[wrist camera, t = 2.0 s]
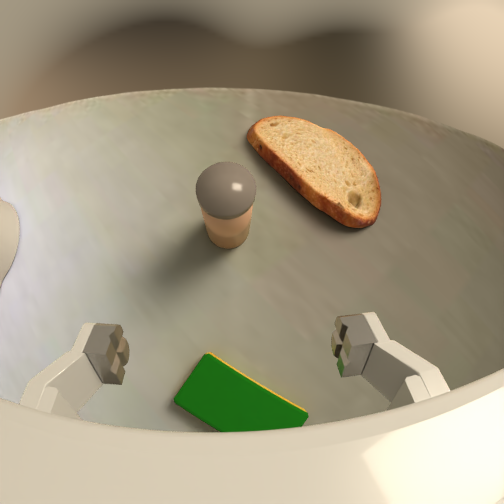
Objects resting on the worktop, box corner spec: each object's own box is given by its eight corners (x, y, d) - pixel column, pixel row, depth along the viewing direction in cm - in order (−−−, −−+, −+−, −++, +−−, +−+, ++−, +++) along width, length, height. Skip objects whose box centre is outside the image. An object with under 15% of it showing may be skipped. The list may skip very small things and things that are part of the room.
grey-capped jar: (213, 254, 36) (204, 222, 25) (201, 214, 37) (189, 170, 27) (255, 242, 37) (264, 206, 26) (242, 203, 38) (245, 155, 27)
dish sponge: (272, 453, 30) (275, 461, 28) (176, 396, 32) (171, 400, 29) (305, 409, 32) (310, 414, 30) (208, 350, 33) (206, 351, 31)
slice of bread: (244, 122, 42) (245, 105, 38) (356, 124, 43) (364, 110, 39) (255, 235, 37) (257, 225, 34) (384, 229, 39) (397, 219, 35)
